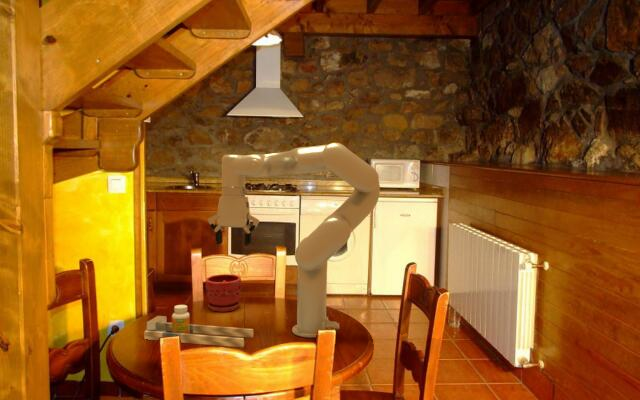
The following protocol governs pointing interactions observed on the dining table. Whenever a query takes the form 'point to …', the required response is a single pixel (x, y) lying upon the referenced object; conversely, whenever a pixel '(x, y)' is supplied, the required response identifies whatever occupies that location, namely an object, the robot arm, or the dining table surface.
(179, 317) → the supplement bottle
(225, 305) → the plant pot
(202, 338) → the guide channel
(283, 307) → the dining table surface
